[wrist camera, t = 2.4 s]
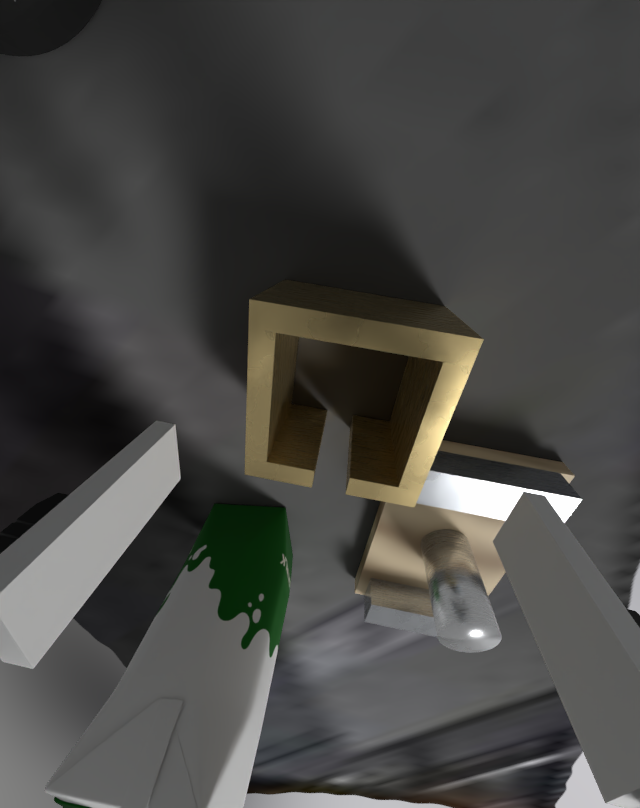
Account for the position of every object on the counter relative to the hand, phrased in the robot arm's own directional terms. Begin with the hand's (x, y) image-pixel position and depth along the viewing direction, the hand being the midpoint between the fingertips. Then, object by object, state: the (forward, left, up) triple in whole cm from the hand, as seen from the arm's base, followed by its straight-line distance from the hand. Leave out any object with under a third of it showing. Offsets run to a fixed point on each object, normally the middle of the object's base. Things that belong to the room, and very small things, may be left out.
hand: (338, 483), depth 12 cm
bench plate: (+14, +11, -11) cm, 21 cm away
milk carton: (+19, -6, -12) cm, 23 cm away
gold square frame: (0, 0, -11) cm, 11 cm away
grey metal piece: (+14, +11, -10) cm, 20 cm away
